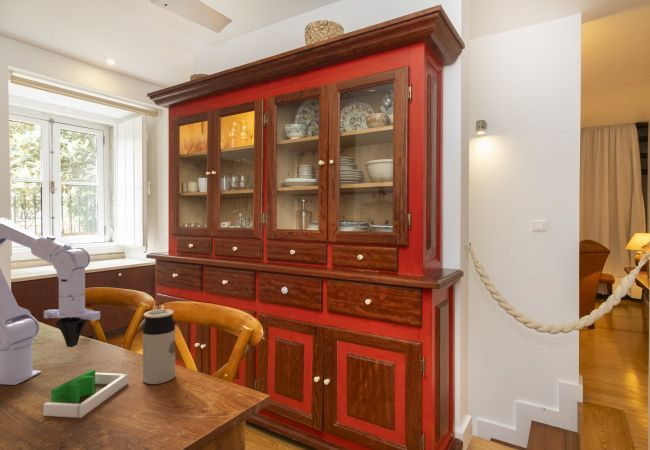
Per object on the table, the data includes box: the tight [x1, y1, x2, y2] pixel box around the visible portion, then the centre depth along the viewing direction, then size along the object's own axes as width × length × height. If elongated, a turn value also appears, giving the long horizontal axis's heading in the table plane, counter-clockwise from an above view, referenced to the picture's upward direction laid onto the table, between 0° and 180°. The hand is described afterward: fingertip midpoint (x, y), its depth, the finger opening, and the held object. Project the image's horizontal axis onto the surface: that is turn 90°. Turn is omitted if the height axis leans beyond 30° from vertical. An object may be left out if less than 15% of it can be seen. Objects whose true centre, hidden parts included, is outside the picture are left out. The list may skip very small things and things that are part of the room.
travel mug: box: [142, 308, 176, 385], centre depth 100 cm, size 8×8×18 cm
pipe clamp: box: [51, 369, 96, 404], centre depth 90 cm, size 11×4×5 cm, turn 169°
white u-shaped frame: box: [42, 371, 129, 419], centre depth 89 cm, size 9×17×2 cm, turn 175°
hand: (72, 345), depth 98 cm, fingers closed
